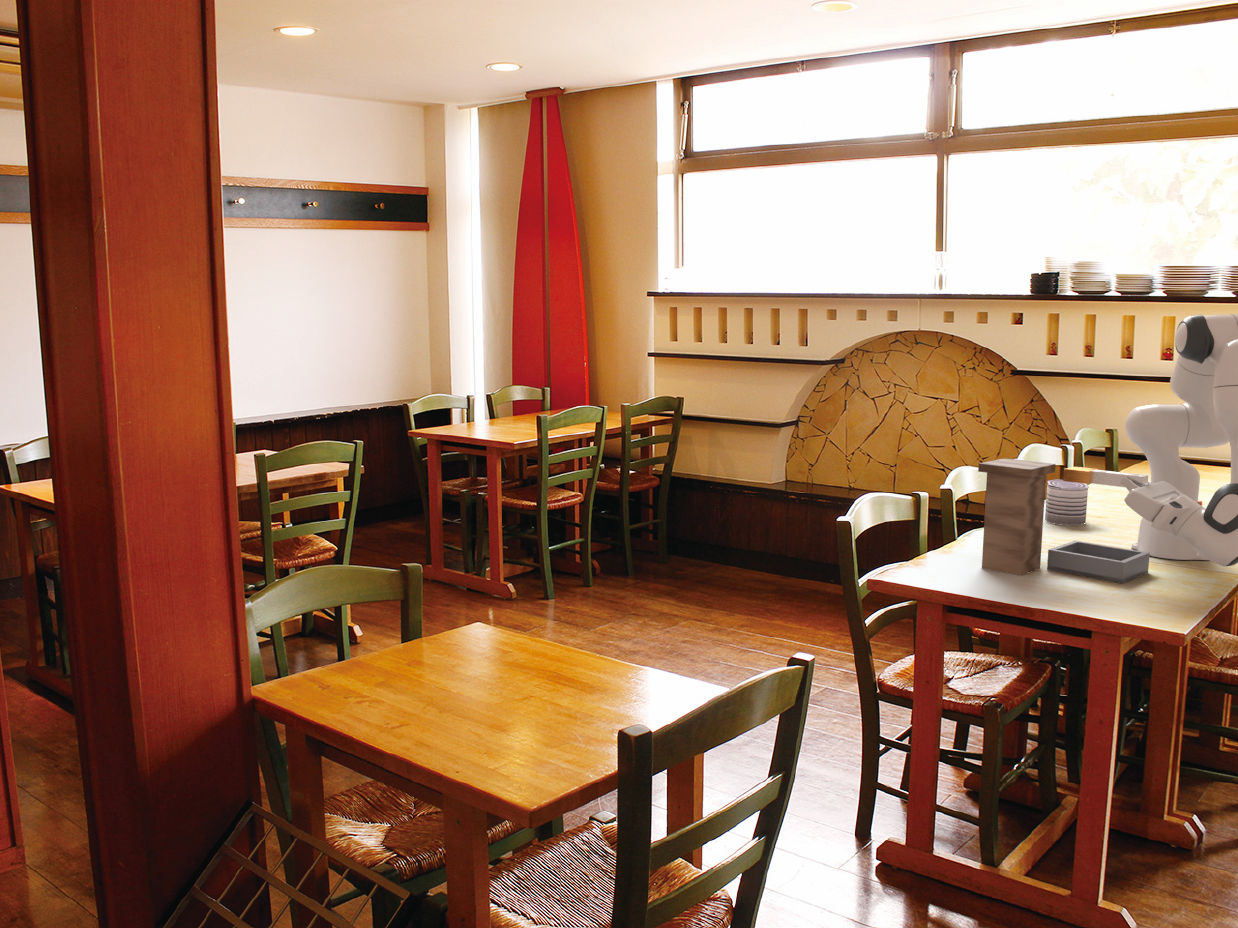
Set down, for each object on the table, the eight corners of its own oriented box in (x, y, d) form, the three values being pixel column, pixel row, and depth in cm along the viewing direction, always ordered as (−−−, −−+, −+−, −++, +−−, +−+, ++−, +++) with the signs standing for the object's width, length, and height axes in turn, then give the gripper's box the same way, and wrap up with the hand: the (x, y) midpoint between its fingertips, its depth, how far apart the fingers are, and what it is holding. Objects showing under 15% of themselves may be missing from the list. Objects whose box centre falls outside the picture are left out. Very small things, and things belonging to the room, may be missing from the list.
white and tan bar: (1063, 481, 257) (1063, 468, 257) (1073, 478, 261) (1074, 466, 261) (1139, 490, 244) (1140, 477, 244) (1149, 487, 248) (1150, 474, 248)
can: (1080, 519, 320) (1083, 480, 318) (1090, 526, 309) (1093, 486, 307) (1040, 517, 322) (1043, 478, 320) (1049, 525, 311) (1051, 485, 309)
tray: (1074, 559, 268) (1075, 540, 267) (1148, 572, 255) (1149, 552, 254) (1047, 569, 258) (1048, 549, 257) (1122, 583, 245) (1124, 562, 244)
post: (998, 559, 268) (1004, 458, 264) (1048, 568, 259) (1055, 464, 255) (973, 567, 259) (978, 463, 256) (1023, 577, 250) (1030, 469, 246)
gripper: (1203, 498, 247) (1151, 463, 255) (1170, 508, 233) (1116, 471, 241) (1186, 519, 250) (1136, 484, 258) (1153, 530, 236) (1101, 493, 244)
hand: (1126, 478), depth 249 cm, fingers closed on white and tan bar, 3 cm apart
